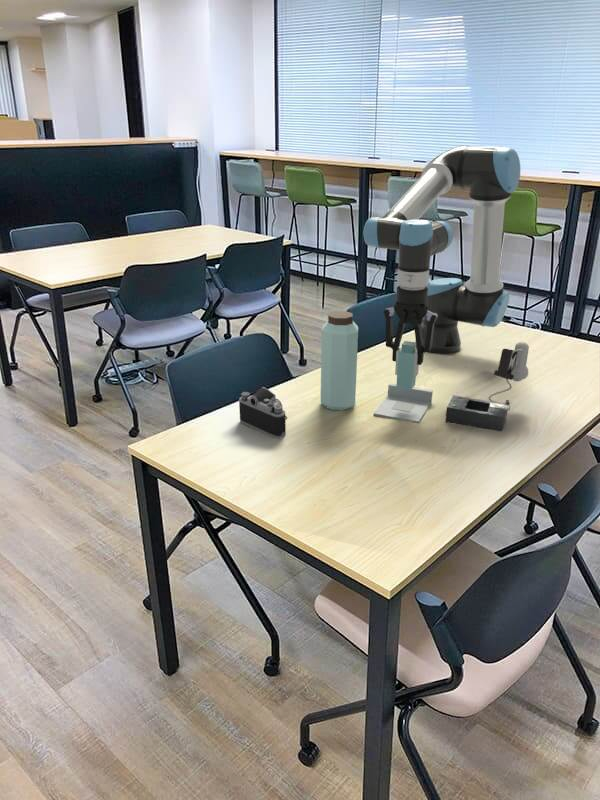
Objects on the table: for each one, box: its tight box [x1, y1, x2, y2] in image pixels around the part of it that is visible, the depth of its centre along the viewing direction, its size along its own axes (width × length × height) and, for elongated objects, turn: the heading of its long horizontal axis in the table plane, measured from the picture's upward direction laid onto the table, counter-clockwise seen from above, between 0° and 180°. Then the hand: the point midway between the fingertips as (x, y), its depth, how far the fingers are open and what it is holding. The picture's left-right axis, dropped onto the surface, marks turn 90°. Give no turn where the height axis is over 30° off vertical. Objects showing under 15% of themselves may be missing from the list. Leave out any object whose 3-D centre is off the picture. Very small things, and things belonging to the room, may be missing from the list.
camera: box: [238, 386, 288, 439], centre depth 158 cm, size 16×8×10 cm, turn 47°
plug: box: [396, 340, 417, 390], centre depth 163 cm, size 4×4×12 cm
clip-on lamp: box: [488, 341, 530, 405], centre depth 165 cm, size 12×6×18 cm, turn 135°
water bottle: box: [320, 310, 359, 411], centre depth 166 cm, size 10×10×25 cm
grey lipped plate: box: [373, 383, 433, 424], centre depth 167 cm, size 14×12×4 cm
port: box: [444, 395, 512, 432], centre depth 160 cm, size 8×15×5 cm, turn 66°
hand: (406, 374), depth 164 cm, fingers closed on plug, 4 cm apart
